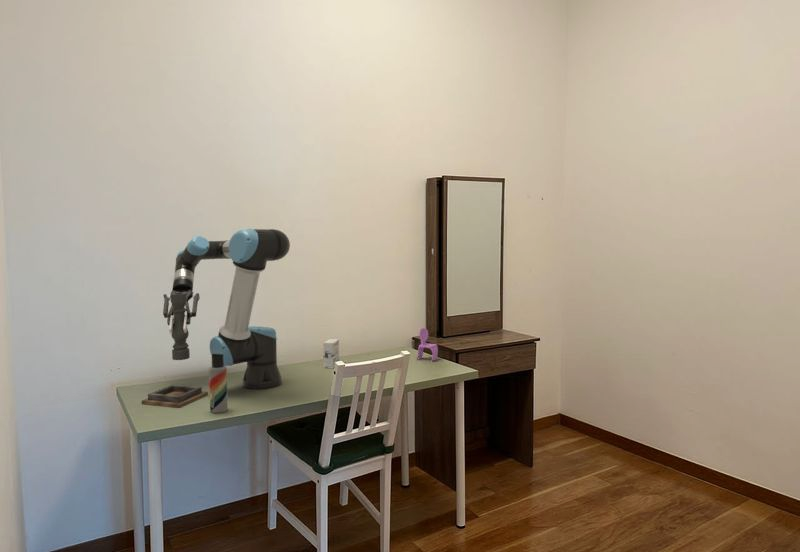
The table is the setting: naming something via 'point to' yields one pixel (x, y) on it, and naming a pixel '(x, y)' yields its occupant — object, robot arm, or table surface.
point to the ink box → (331, 352)
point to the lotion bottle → (218, 384)
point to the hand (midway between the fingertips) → (177, 331)
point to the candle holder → (179, 327)
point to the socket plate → (175, 396)
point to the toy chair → (426, 344)
